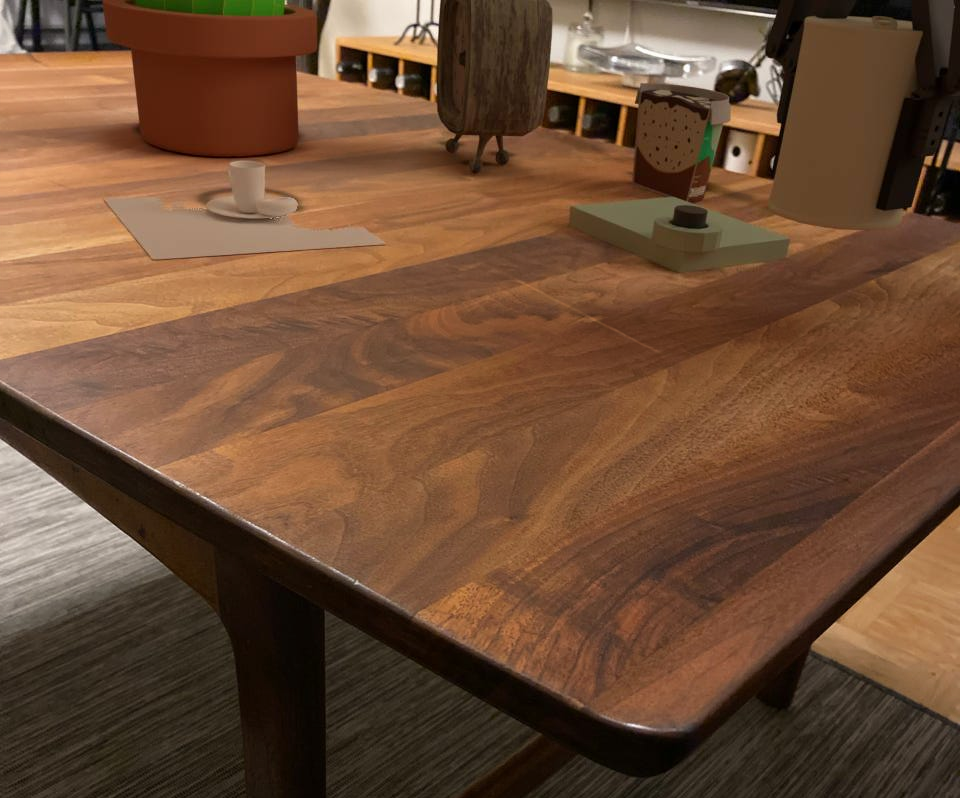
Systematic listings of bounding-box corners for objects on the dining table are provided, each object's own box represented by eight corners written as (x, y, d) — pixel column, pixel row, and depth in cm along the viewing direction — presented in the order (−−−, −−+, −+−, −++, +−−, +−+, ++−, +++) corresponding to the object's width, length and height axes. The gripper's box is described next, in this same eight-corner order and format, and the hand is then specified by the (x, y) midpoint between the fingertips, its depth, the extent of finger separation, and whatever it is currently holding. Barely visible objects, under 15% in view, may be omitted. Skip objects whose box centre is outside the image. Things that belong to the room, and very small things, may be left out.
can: (772, 223, 69) (815, 15, 62) (761, 193, 76) (798, 4, 69) (913, 236, 68) (973, 25, 61) (888, 204, 76) (938, 13, 69)
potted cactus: (244, 119, 132) (229, -123, 117) (355, 151, 120) (354, -113, 106) (84, 132, 119) (46, -139, 104) (192, 171, 107) (165, -130, 92)
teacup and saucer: (309, 223, 93) (308, 174, 91) (222, 228, 90) (218, 177, 87) (279, 199, 99) (277, 153, 97) (196, 203, 96) (192, 156, 94)
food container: (739, 204, 111) (760, 100, 105) (696, 208, 108) (715, 102, 103) (665, 178, 119) (680, 81, 114) (623, 181, 117) (637, 82, 111)
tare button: (711, 230, 88) (714, 211, 87) (686, 233, 87) (690, 214, 86) (689, 222, 90) (692, 203, 89) (664, 225, 89) (667, 206, 88)
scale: (792, 262, 93) (802, 221, 91) (678, 278, 87) (686, 234, 85) (670, 216, 105) (676, 179, 103) (560, 227, 98) (564, 188, 96)
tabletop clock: (433, 150, 124) (443, -106, 109) (505, 152, 126) (524, -99, 111) (463, 178, 112) (479, -104, 98) (542, 179, 115) (568, -96, 100)
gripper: (755, -231, 64) (692, 163, 77) (1078, -254, 49) (933, 236, 62) (837, -218, 67) (764, 157, 80) (1162, -236, 53) (1007, 224, 66)
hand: (838, 191), depth 71 cm, fingers closed on can, 9 cm apart
